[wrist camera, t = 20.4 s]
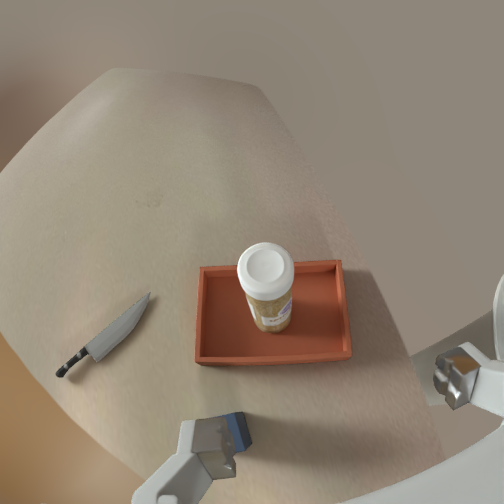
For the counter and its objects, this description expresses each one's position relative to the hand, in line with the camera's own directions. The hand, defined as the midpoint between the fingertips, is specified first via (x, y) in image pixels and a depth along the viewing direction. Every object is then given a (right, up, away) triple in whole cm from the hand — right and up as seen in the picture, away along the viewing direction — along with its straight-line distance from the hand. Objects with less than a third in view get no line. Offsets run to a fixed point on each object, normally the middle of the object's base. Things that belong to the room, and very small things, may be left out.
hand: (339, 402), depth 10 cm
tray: (-1, -2, +27) cm, 27 cm away
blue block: (-6, -15, +21) cm, 26 cm away
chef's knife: (-23, -7, +27) cm, 36 cm away
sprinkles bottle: (-1, -2, +27) cm, 27 cm away
